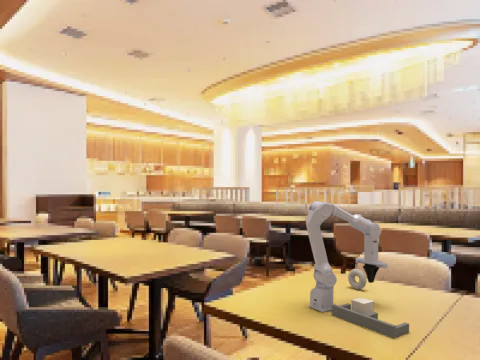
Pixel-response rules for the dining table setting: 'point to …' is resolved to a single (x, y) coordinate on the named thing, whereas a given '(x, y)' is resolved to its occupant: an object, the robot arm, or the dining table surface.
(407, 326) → the comb rack
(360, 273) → the donut
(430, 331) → the dining table surface
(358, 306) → the beige cube
